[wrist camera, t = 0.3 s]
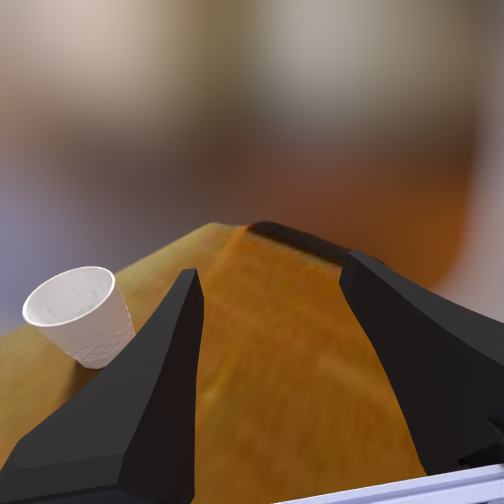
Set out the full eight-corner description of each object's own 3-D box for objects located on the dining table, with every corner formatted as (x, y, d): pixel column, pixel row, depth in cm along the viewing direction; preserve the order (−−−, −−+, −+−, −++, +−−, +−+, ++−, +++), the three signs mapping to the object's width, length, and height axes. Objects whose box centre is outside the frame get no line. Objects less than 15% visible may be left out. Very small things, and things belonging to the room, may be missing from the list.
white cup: (150, 320, 32) (128, 269, 26) (120, 378, 26) (82, 330, 20) (98, 314, 32) (63, 263, 26) (56, 371, 26) (-2, 321, 20)
